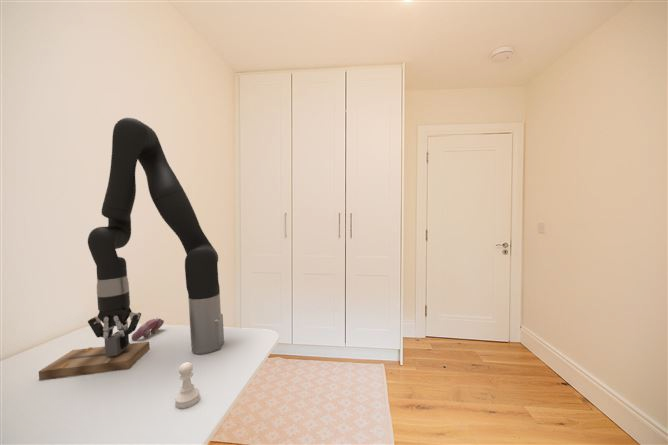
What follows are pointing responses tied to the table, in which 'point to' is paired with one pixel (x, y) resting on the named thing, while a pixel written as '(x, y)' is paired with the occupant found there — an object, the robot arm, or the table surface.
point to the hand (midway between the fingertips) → (117, 348)
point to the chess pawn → (186, 388)
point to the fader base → (93, 361)
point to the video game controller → (148, 328)
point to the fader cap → (113, 345)
